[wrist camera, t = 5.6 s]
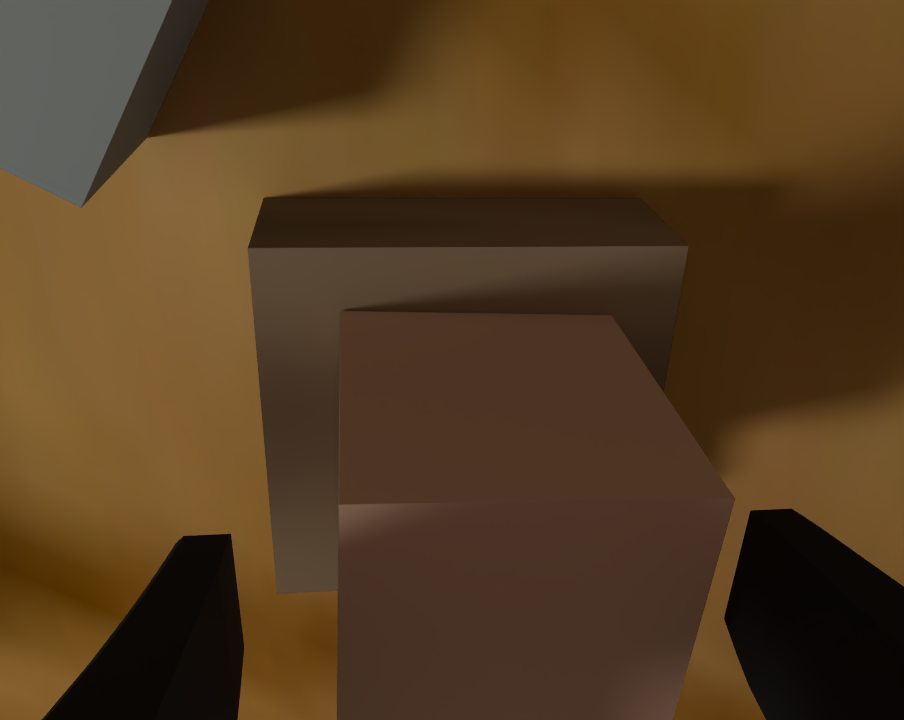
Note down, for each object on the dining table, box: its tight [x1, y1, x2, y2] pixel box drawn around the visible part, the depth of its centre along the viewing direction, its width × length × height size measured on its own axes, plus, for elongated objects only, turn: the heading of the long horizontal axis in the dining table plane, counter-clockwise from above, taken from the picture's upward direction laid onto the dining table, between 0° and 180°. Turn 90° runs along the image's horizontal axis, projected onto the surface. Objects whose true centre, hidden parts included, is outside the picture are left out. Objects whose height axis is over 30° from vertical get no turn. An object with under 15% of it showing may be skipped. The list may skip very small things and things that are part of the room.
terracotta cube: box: [337, 311, 735, 720], centre depth 12 cm, size 4×4×5 cm
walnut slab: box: [248, 198, 689, 594], centre depth 16 cm, size 7×7×3 cm
